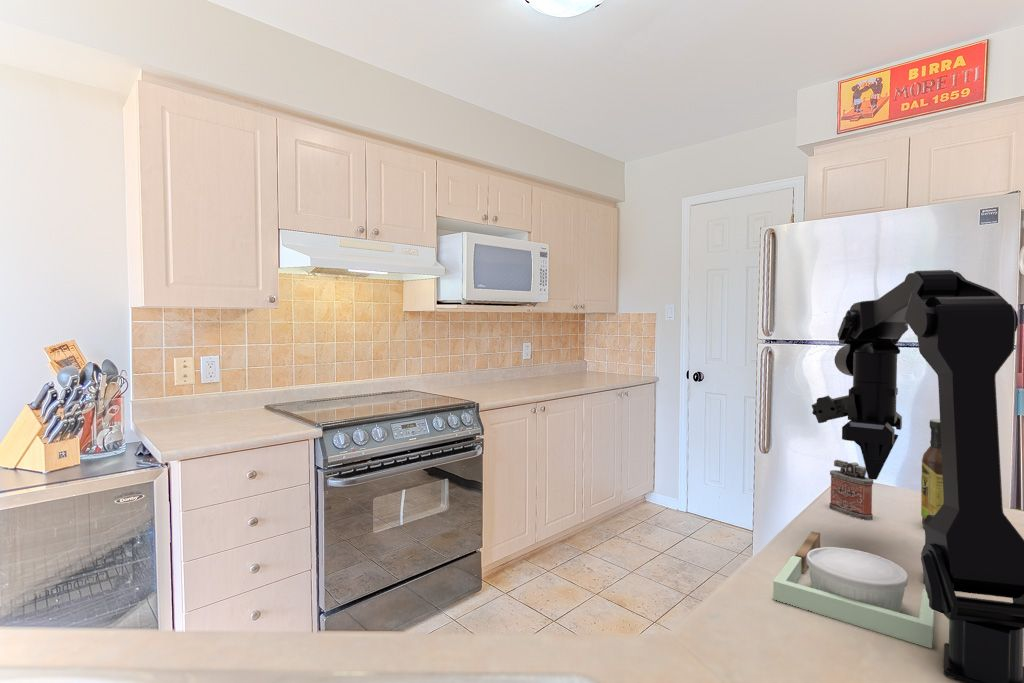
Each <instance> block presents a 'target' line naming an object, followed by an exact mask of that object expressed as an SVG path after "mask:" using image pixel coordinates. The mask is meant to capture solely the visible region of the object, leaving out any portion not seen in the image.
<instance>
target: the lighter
mask: <svg viewBox="0 0 1024 683" xmlns="http://www.w3.org/2000/svg"><path fill="white" fill-rule="evenodd" d="M833 467H837V468H840V469H839V470H836V469H832V470H829V476H830V502H829V506H828V507H829V509H830V510H833V511H835V512H837V513H840V514H842V515H845V514H846V515H845V516H848V515H850V517H852V518H855V517H856V519H859V518H860V519H859V520H862V519H864V520H863V521H873V517H874V514H873V513H872V512H873V511H872V510H873V508H872V507H873V485H874V479H869V478H868V476H866V475H867V471H866V467H865V466H862V465H859V463H857V462H855V461H854V462H848V461H845V460H842V459H835V460H834V461H833Z"/></svg>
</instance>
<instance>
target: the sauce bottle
mask: <svg viewBox="0 0 1024 683" xmlns="http://www.w3.org/2000/svg"><path fill="white" fill-rule="evenodd" d="M929 428H930V441H929V443H930V445H929V447H928V448H927V449H926V451H924V453H923V455H922V459H921V478H920V480H921V481H920V482H921V484H920V485H921V486H920V487H921V491H920V492H921V494H920V496H921V498H920V499H921V500H920V502H921V503H920V504H921V505H920V515H921V517H922V520H921V524H922V527H924V521H925V519H926V517H927V515H935V514H936V513H937V512H938V510H939V509H940V508H941V507H942V505H943V502H944V497H943V475H942V453H941V430H940V418H932V419H930V420H929Z"/></svg>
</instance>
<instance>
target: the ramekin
mask: <svg viewBox="0 0 1024 683" xmlns="http://www.w3.org/2000/svg"><path fill="white" fill-rule="evenodd" d="M806 561H807V564H808V566H809V567H808V571H809V578H810V582H811V583H810V584H811V588H813V589H817V590H821V591H824V592H828V593H831V594H835V595H838V596H842V597H845V598H849V599H852V600H856V601H859V602H863V603H867V604H870V605H874V606H877V607H881V608H884V609H888V610H891V611H895V612H898V613H901V612H900V611H901V609H902V604H903V598H904V596H905V591H906V590H905V589H906V588H907V586H908V584H909V575H908V573H907V571H906V570H905V569H903V567H901V566H900V565H899V564H897V563H895V562H893V561H892V560H889V559H887V558H885V557H882V556H879V555H877V554H874V553H871V552H866V551H863V550H858V549H852V548H846V547H845V548H844V547H836V546H835V547H833V546H830V547H829V546H827V547H824V546H823V547H820V548H816V549H813V550H811V551H809V552H808V553H807V556H806Z"/></svg>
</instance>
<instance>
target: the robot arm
mask: <svg viewBox="0 0 1024 683" xmlns="http://www.w3.org/2000/svg"><path fill="white" fill-rule="evenodd" d="M1018 325H1019V317H1018V313H1017V311H1016V310H1015V308H1014V307H1013V305H1012V304H1011V303H1009V302H1008V301H1007V300H1006V299H1005V298H1004V297H1003V296H1002V295H1001V294H999V293H998V292H997V291H995V290H994V289H991V288H989V287H987V286H986V287H985V286H983V285H981V284H977V283H975V282H972V281H970V280H968V279H966V278H965V277H964V276H963V275H962V274H961V273H960V272H959V271H954V270H951V269H938V270H937V269H936V270H933V269H932V270H915V271H914V272H909V273H907V275H906V276H905V278H904V280H903V281H902V282H901V283H899V284H898V285H896V286H895V287H893V288H892V289H891V290H889V291H888V292H886V293H885V294H883V295H882V296H880V297H879V298H877V299H871V300H863V301H857V302H855V303H853V304H852V305H851V306H850V308H849V309H848V310H847V311H846V313H845V316H844V317H843V318H842V321H841V324H840V327H839V330H838V332H837V338H838V343H839V345H844V346H842V347H840V348H839V349H838V350H837V352H836V353H835V356H834V358H833V359H834V360H833V361H834V365H835V367H836V369H837V370H838V371H839V372H841V373H842V374H844V375H846V376H850V377H852V378H853V379H852V386H851V387H850V388H849V389H848V394H846V395H843V396H839V397H834V398H832V397H831V396H830V395H826V396H822V397H817V398H816V402H814V403H813V404H811V408H812V415H814V416H815V418H816V420H817V423H818V424H824V423H826V422H828V421H831V420H835V419H840V418H845V417H847V420H849V421H848V422H846V423H845V424H844V425H842V427H841V440H843V441H849V442H854V443H855V444H856V445H858V446H859V448H860V451H861V455H862V458H863V462H864V467H866V475H867V478H869V479H873V481H874V480H875V481H876V480H878V477H879V476H880V474H881V471H882V469H883V467H884V465H885V463H886V461H887V460H888V457H889V455H890V453H891V452H892V450H893V448H894V445H895V443H896V442H897V439H898V438H899V435H898V434H896V433H895V429H896V430H899V431H901V429H902V426H903V416H902V415H901V414H900V413H899V412H897V395H898V392H899V391H898V389H899V388H898V387H897V386H898V385H897V383H898V381H897V378H898V355H899V354H900V353H901V350H900V347H899V346H898V345H897V344H898V343H899V341H900V339H901V338H902V336H903V335H904V334H905V333H906V332H907V331H908V330H909V327H910V329H911V330H912V332H913V333H914V335H915V336H916V337H917V343H918V351H919V354H920V355H921V356H922V358H923V359H924V360H925V361H926V363H927V364H928V365H929V366H930V367H931V369H932V370H933V371H934V372H935V374H936V375H937V385H938V404H939V408H938V409H939V419H940V430H941V453H942V475H943V497H944V502H943V505H942V507H941V508H940V509H939V510H938V512H937V513H936V514H935V515H927V517H926V519H925V521H924V526H923V527H924V528H923V529H924V544H923V547H922V552H921V554H920V562H921V565H922V571H923V573H924V580H925V584H924V587H925V588H924V589H926V592H927V596H928V599H929V607H930V608H931V609H932V610H935V612H937V613H940V614H942V615H944V616H945V617H946V618H947V619H948V621H949V622H948V625H949V626H948V627H949V628H948V629H949V630H948V642H947V643H946V642H945V643H944V644H943V671H942V672H943V674H944V675H945V676H948V677H950V678H953V679H956V680H959V681H963V682H965V683H1024V538H1023V536H1022V535H1021V534H1020V533H1019V531H1018V530H1017V528H1016V527H1015V526H1014V525H1013V524H1012V522H1011V521H1010V520H1009V519H1008V517H1007V516H1006V515H1005V513H1004V508H1003V492H1002V491H1003V490H1002V489H1003V488H1002V470H1001V469H1002V468H1001V455H1000V440H999V439H1000V436H999V420H998V418H999V417H998V402H997V401H998V400H997V385H996V384H997V383H996V375H997V374H998V372H999V371H1000V369H1001V368H1002V367H1003V365H1004V364H1005V363H1006V362H1007V361H1008V359H1009V357H1010V356H1011V354H1012V353H1013V352H1014V350H1015V340H1016V332H1017V329H1018ZM956 593H966V594H975V595H981V596H982V595H983V596H990V597H991V596H992V597H1000V598H1008V599H1012V602H1011V601H1001V600H994V599H985V598H977V597H969V596H968V597H967V596H961V595H956Z"/></svg>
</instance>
